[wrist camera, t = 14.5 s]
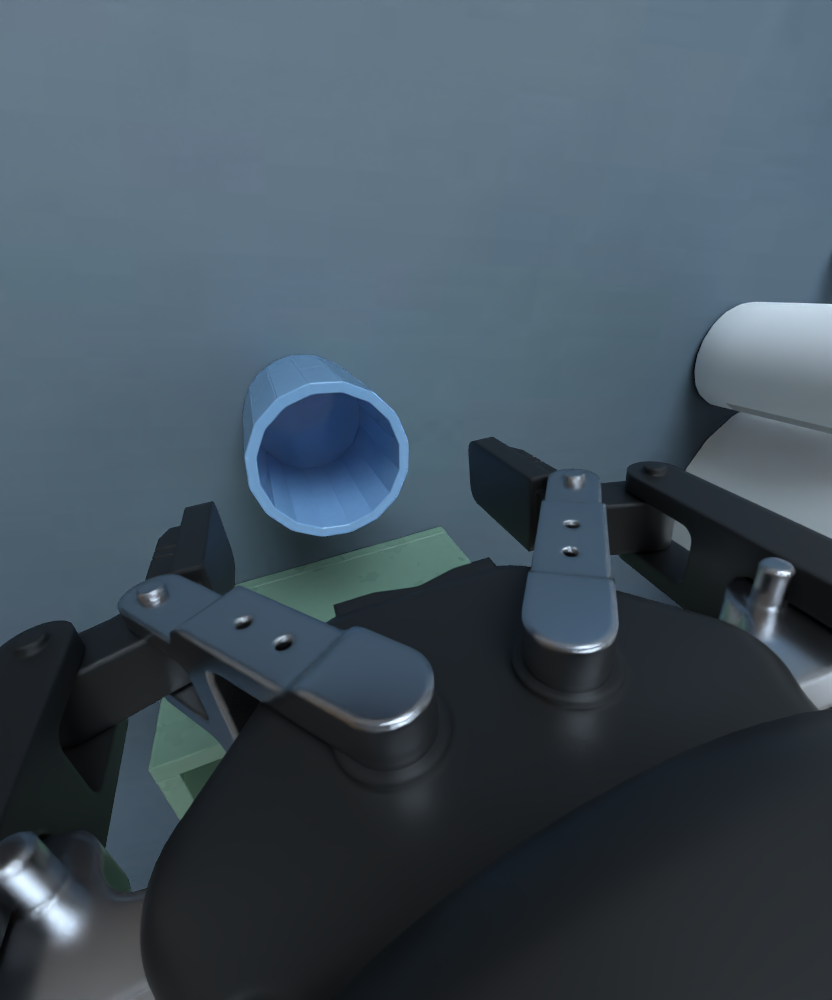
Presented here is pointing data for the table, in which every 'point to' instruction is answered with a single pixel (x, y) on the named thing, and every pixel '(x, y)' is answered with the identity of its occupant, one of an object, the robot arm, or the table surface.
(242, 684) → the robot arm
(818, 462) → the canister
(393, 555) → the green box
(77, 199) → the table surface
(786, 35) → the table surface
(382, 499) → the cup
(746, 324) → the spray bottle
